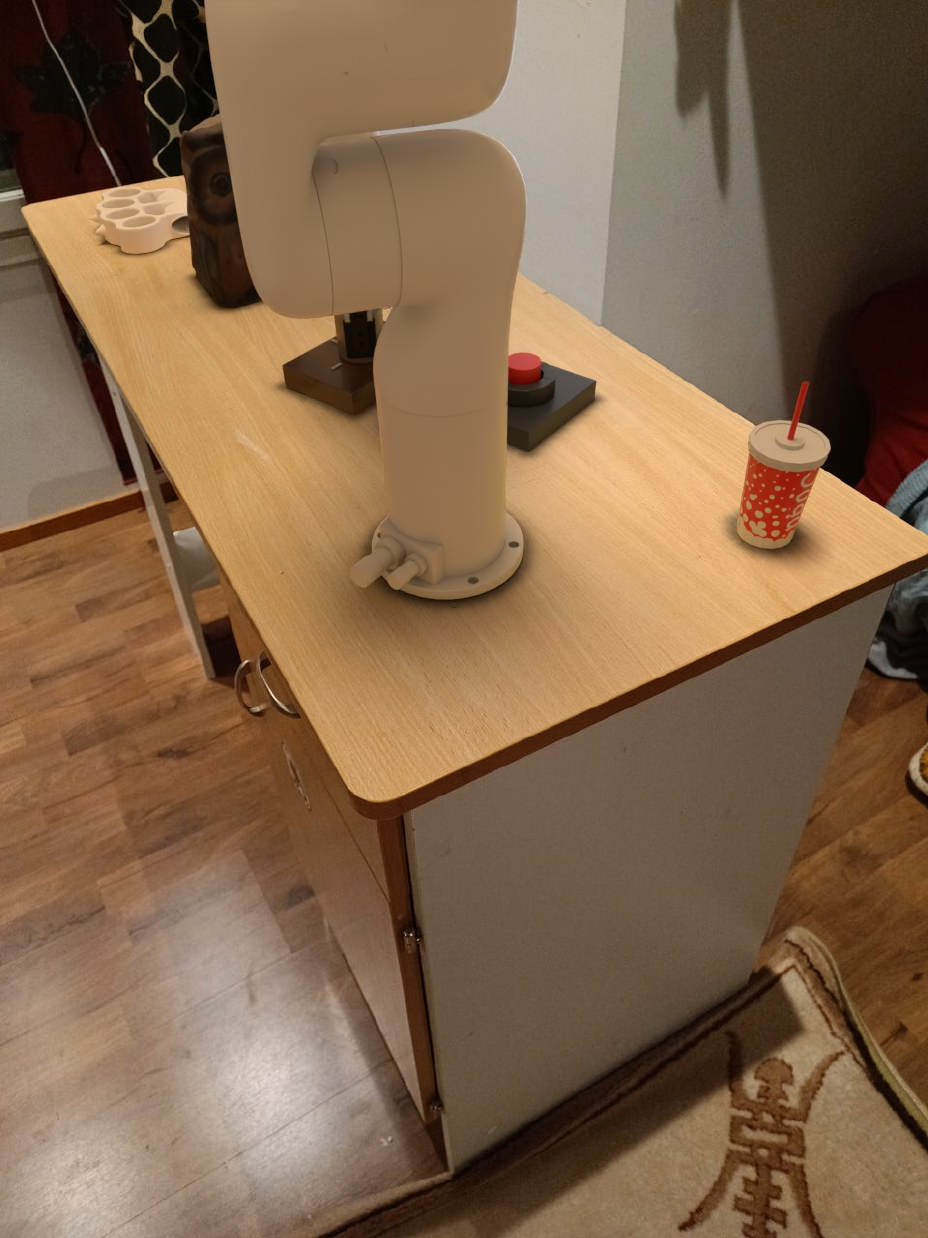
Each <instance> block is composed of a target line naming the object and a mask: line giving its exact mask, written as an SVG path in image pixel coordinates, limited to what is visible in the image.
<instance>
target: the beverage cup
mask: <svg viewBox="0 0 928 1238" xmlns="http://www.w3.org/2000/svg"><path fill="white" fill-rule="evenodd" d="M809 385H810V382H809V381H807V380H803V381H802V383H801V386H800V390H799V393H798V397H797V401H796V405H795V408H794V412H793V416H792V419H791V420H783V419H775V420H769V421H764V422H762V423H760V424H758V425H755V426H754V427H753V428H752V430H751V431H750V432H749V434H748V440H747V450H748V452H749V453H748V457H747V464H746V469H745V476H744V481H743V486H742V492H741V499H740V504H739V510H738V517H737V523H736V533H737V534H738V536H739V537H740V539H741V540H743V541H744V542H746V543H747V544H749V545H750V546H754V547H756V548H759V549H769V550H773V549H781V548H783V547H785V546H787V545H789V544H790V542H791V540H792V539H793V537H794V534H795V532H796V530H797V526H798V524H799V522H800V519H801V516H802V514H803V511H804V509H805V507H806V504H807V502H808V499H809V496H810V495H811V494H810V493H811V491H812V489H813V487H814V483H815V481H816V480H817V479H816V478H817V476H818V473H819V472H820V470H821V469H820V468H821V467H822V466H823V465H824V464H825V462H826V461H827V459H828V456H829V454H830V452H831V450H832V448H831V443H830V440H829V438H828V437H827V436H826V435H825V434H824V433H823V432H822V431H820V430H819V429H818V428H816V427H813V426H811V425H809V424H806V423H802V422H799V421H800V418H801V414H802V410H803V406H804V403H805V400H806V397H807V392H808V389H809V387H810V386H809Z"/></svg>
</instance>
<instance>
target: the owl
mask: <svg viewBox="0 0 928 1238" xmlns="http://www.w3.org/2000/svg"><path fill="white" fill-rule="evenodd" d="M179 149H180V157H181V159H180V160H181V161H180V162H181V163H180V165H181V171H182V176H183V178H184V183H185V192H186V193H187V215H188V224H189V234H190V235H189V243H190V255H191V256H190V257H191V258H190V259H191V266H192V268H193V270H194V271H195V278H196V279H197V280H198V281H199V283H201V285H202V286H203V288H204V289H205V290H207V292H208V295H209V296H210V297H213V298H214V300H215V303H216V304H217V305H218V306H221V307H223V308H226V309H237V308H239V307H244V306H248V305H251V304H255V303H259V302H261V301H263V300H262V299H261V297H260V296H259V294H258V292H257V290H256V288H255V286H254V283H253V281H252V278H251V275H250V272H249V269H248V265H247V262H246V258H245V254H244V249H243V244H242V238H241V233H240V228H239V222H238V216H237V210H236V204H235V198H234V192H233V187H232V181H231V175H230V169H229V163H228V157H227V152H226V146H225V140H224V134H223V128H222V122H221V117H220V113H218V114H215V115H214V116H211V117H208V118H205V119H204V120H202V121H201V122H200V123H199V124H197V125H195V126H194V127H192V128H191V129H190V130H183V131H182V133H181V136H180V138H179Z"/></svg>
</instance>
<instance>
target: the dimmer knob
mask: <svg viewBox="0 0 928 1238" xmlns="http://www.w3.org/2000/svg"><path fill="white" fill-rule="evenodd" d="M366 314H367V313H366ZM383 315H384V314H383V308H380V309H373V310H372V318H374V317H375V326H376V337H377V340H378V337H379V335H380V332H381V330H382V327H383V321H384V316H383ZM333 319H334V327H335V336H337V344H338V352H339V356H340V357H341V358H342V359H343V360H345V361H347V362H351V363H368V362H372V361H373V360H374V357H368V358H355V359H349V358H348V357H347V352H346V344H345V336H344V328H343V320H345V316H344V314H341V315H334V316H333Z"/></svg>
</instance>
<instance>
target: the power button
mask: <svg viewBox="0 0 928 1238" xmlns="http://www.w3.org/2000/svg"><path fill="white" fill-rule="evenodd" d="M541 361H542V359H541V357H539V356H538V355H537V354H534V353H531V352H524V351H523V352H515V353H512V354H511V353H510V354H509V359H508V382H510V383H513V384H519V385H528V384H532V383H536V382H538V381H540V379H541Z"/></svg>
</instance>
